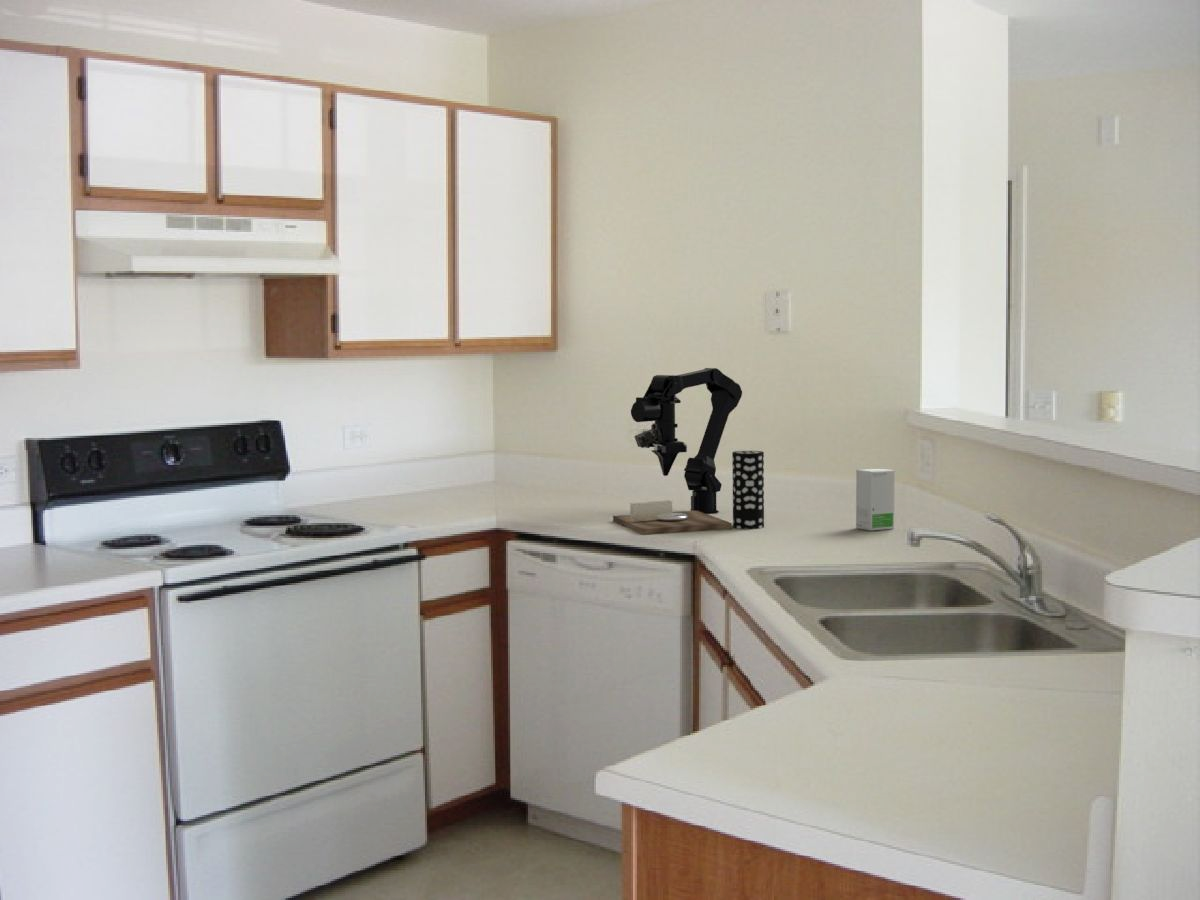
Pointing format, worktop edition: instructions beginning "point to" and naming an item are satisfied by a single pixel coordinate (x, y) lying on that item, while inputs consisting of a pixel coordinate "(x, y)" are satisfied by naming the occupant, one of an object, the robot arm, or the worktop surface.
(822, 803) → the worktop surface
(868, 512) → the skincare box
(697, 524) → the dial plate
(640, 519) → the cream block with dome
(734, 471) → the white-spotted black cylinder
